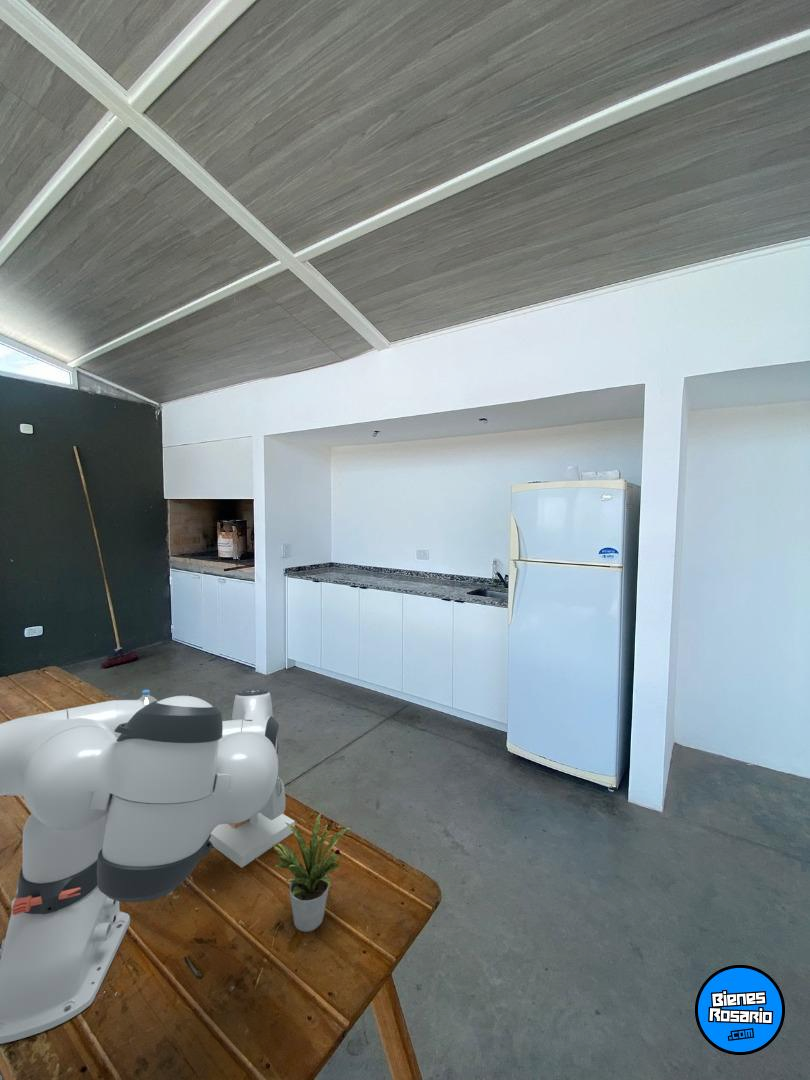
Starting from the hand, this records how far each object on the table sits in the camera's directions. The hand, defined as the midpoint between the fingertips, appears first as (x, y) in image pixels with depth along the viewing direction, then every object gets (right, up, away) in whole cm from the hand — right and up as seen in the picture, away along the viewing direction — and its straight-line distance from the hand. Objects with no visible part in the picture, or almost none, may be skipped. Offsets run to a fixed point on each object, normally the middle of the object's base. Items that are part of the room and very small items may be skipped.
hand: (250, 820), depth 102 cm
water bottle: (-35, -2, +20) cm, 41 cm away
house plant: (+18, -5, -20) cm, 28 cm away
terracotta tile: (-5, -1, +4) cm, 6 cm away
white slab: (-2, -3, +1) cm, 4 cm away
